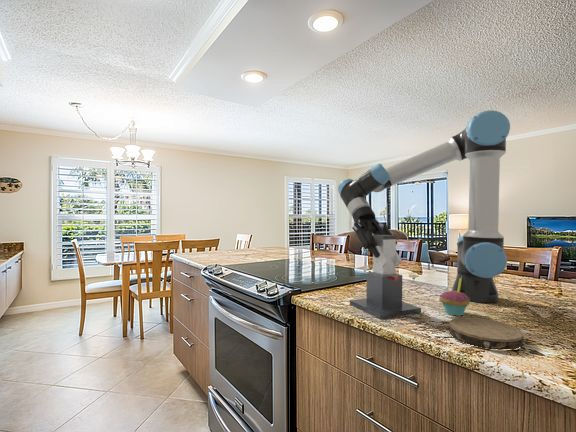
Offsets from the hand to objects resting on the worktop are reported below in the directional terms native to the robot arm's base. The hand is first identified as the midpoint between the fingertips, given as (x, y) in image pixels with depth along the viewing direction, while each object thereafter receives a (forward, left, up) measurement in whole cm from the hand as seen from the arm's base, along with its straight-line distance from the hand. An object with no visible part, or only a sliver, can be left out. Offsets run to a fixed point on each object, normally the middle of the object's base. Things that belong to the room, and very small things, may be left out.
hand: (392, 263), depth 102 cm
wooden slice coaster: (-23, +13, -16) cm, 31 cm away
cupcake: (-18, -6, -15) cm, 25 cm away
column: (+3, -3, -13) cm, 14 cm away
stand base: (+3, -3, -15) cm, 16 cm away
